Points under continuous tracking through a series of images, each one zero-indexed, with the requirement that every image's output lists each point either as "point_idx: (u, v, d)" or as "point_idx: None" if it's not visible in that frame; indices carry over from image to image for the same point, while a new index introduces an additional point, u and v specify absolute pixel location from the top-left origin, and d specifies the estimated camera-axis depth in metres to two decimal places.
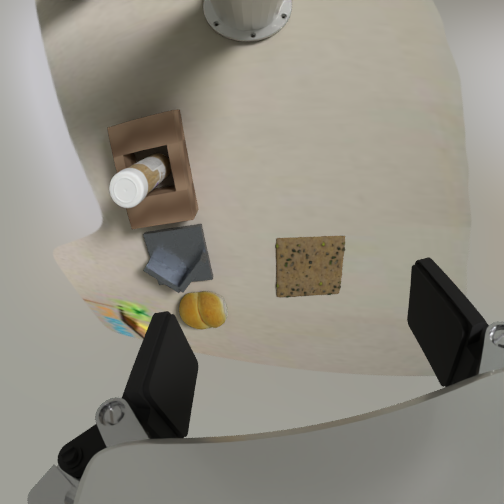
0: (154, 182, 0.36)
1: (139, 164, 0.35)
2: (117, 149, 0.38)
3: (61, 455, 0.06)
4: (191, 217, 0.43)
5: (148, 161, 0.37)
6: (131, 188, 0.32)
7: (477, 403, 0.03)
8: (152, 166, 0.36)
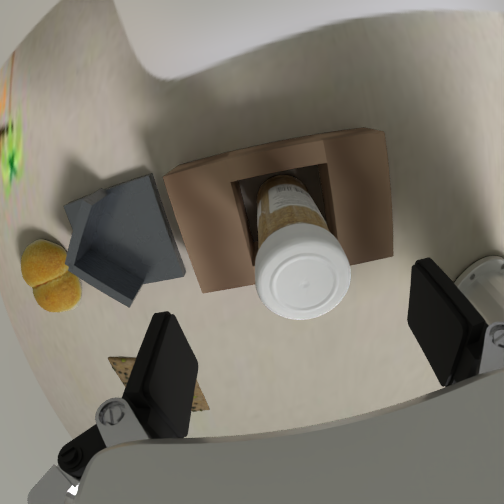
0: None
1: None
2: (339, 151, 0.19)
3: (61, 455, 0.06)
4: (206, 290, 0.24)
5: None
6: (308, 298, 0.14)
7: (478, 403, 0.03)
8: None
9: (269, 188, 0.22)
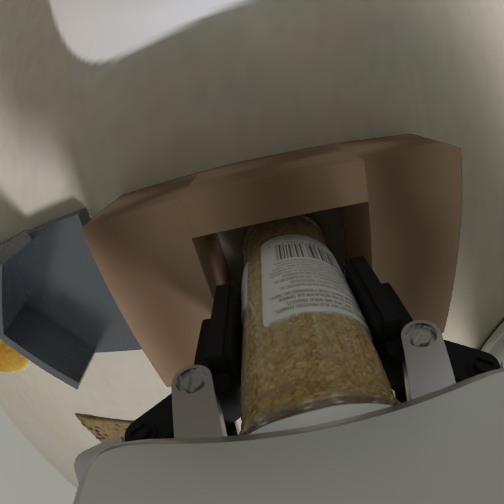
0: None
1: None
2: (391, 180, 0.10)
3: (130, 433, 0.07)
4: (171, 384, 0.15)
5: None
6: None
7: (477, 403, 0.03)
8: None
9: (262, 240, 0.13)
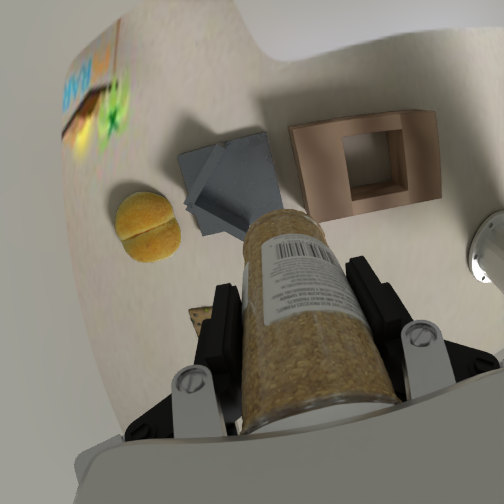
0: None
1: None
2: (409, 121, 0.26)
3: (130, 433, 0.07)
4: None
5: None
6: None
7: (477, 403, 0.03)
8: None
9: (263, 239, 0.13)
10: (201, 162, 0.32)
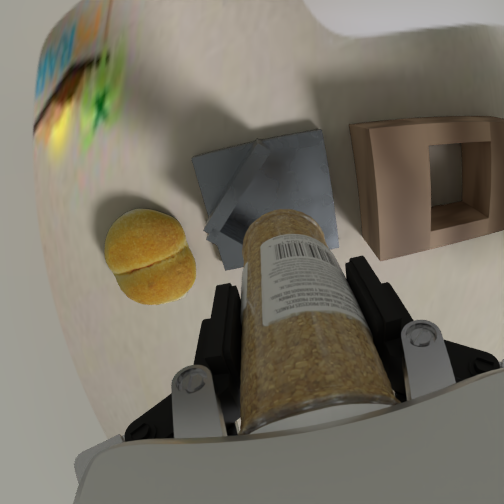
0: None
1: None
2: (497, 133, 0.16)
3: (130, 433, 0.07)
4: (384, 257, 0.22)
5: None
6: None
7: (478, 403, 0.03)
8: None
9: (262, 239, 0.13)
10: (227, 168, 0.22)
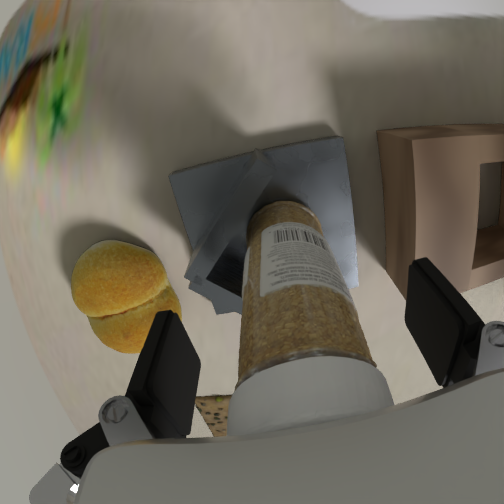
0: None
1: None
2: None
3: (64, 453, 0.06)
4: None
5: None
6: None
7: (478, 403, 0.03)
8: None
9: (263, 227, 0.15)
10: (216, 189, 0.17)
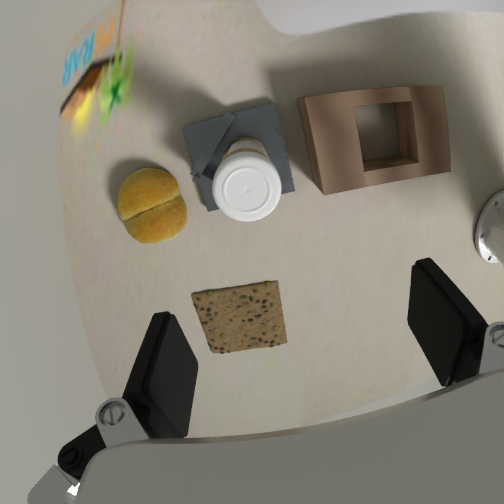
0: None
1: None
2: (418, 94, 0.24)
3: (61, 455, 0.06)
4: (327, 192, 0.29)
5: None
6: (250, 202, 0.19)
7: (478, 403, 0.03)
8: None
9: None
10: (208, 133, 0.30)
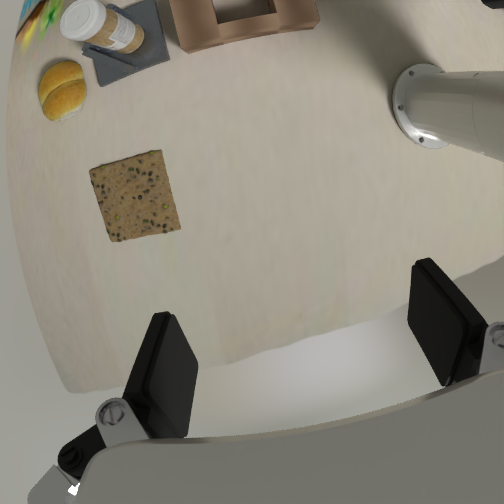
0: (96, 43, 0.22)
1: (116, 22, 0.21)
2: None
3: (61, 455, 0.06)
4: (183, 44, 0.27)
5: (124, 30, 0.23)
6: (78, 23, 0.17)
7: (477, 403, 0.03)
8: (116, 36, 0.23)
9: None
10: None
